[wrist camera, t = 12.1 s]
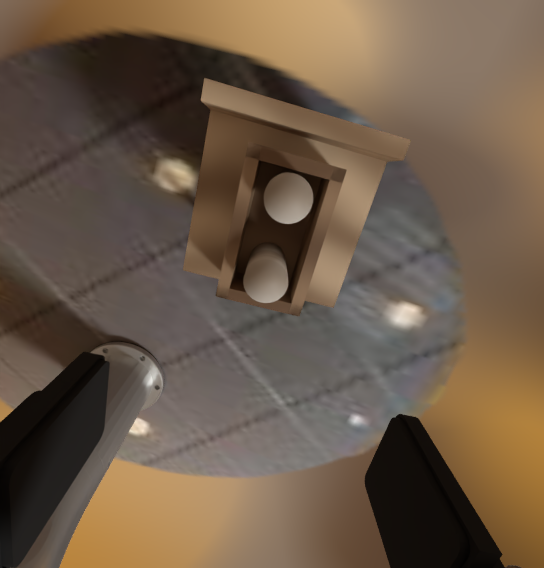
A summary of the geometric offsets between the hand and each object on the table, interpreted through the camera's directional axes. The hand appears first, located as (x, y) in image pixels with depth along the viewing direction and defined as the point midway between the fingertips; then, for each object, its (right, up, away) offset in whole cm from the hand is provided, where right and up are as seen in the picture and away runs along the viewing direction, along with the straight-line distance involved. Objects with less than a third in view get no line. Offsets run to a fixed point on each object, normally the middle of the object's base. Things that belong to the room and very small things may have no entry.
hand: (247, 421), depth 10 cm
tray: (+1, +9, +14) cm, 17 cm away
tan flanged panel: (+2, +16, +29) cm, 33 cm away
